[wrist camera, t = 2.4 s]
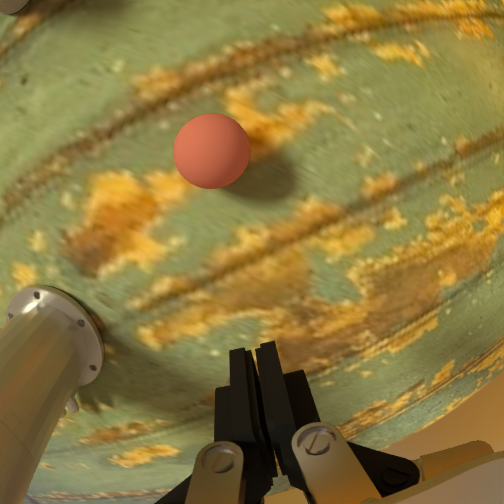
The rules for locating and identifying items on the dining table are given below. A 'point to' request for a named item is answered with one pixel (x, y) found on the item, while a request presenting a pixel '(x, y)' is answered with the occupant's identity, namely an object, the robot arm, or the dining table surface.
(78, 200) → the dining table surface
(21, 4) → the beverage can
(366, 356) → the dining table surface
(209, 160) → the ball
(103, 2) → the dining table surface
